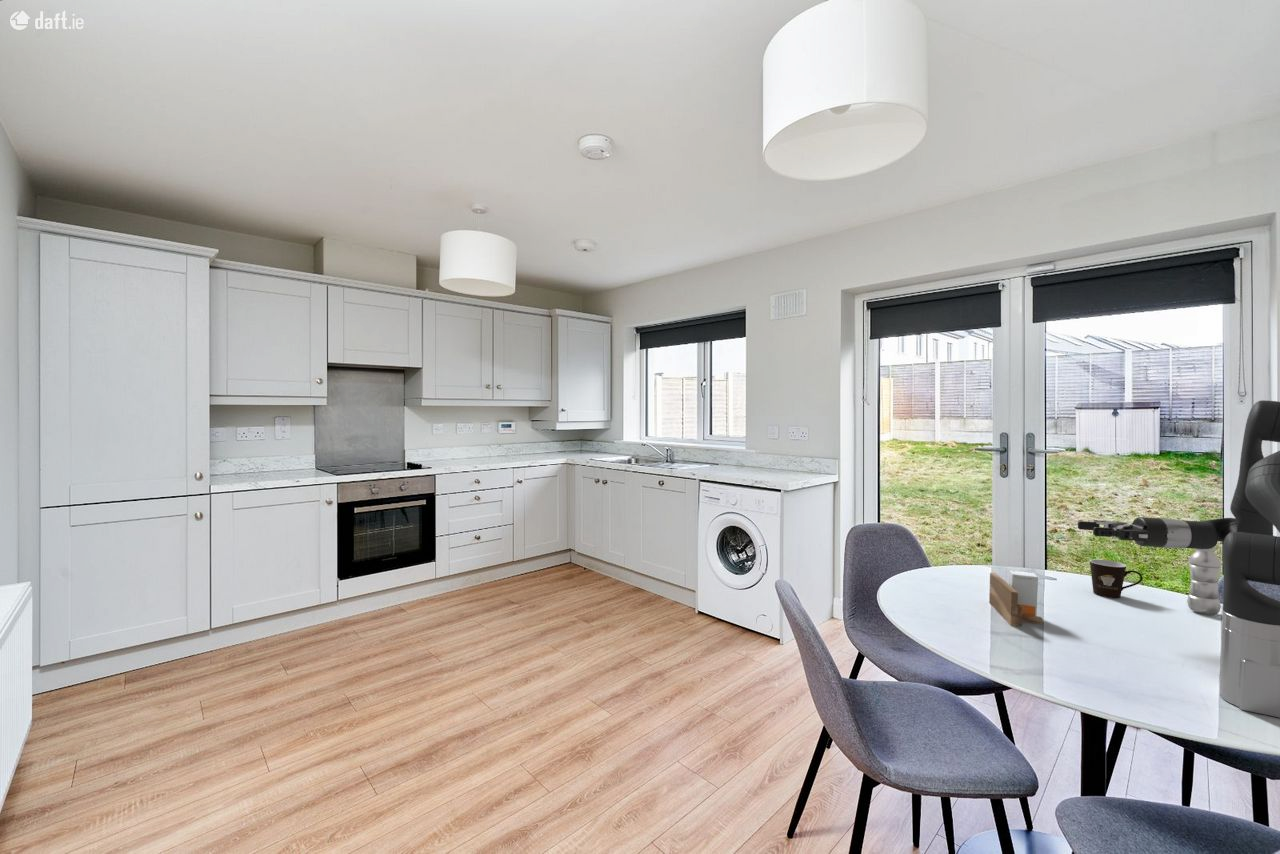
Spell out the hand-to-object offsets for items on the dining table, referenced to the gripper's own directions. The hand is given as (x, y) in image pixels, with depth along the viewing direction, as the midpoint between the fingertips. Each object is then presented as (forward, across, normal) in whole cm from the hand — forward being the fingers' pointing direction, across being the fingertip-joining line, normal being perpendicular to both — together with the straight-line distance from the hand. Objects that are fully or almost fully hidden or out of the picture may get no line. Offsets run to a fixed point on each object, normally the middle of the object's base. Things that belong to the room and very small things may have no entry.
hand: (1085, 528), depth 145 cm
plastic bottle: (-36, -20, +26) cm, 49 cm away
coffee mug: (-19, -28, +26) cm, 43 cm away
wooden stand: (+15, -1, +26) cm, 30 cm away
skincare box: (+14, -1, +26) cm, 29 cm away
